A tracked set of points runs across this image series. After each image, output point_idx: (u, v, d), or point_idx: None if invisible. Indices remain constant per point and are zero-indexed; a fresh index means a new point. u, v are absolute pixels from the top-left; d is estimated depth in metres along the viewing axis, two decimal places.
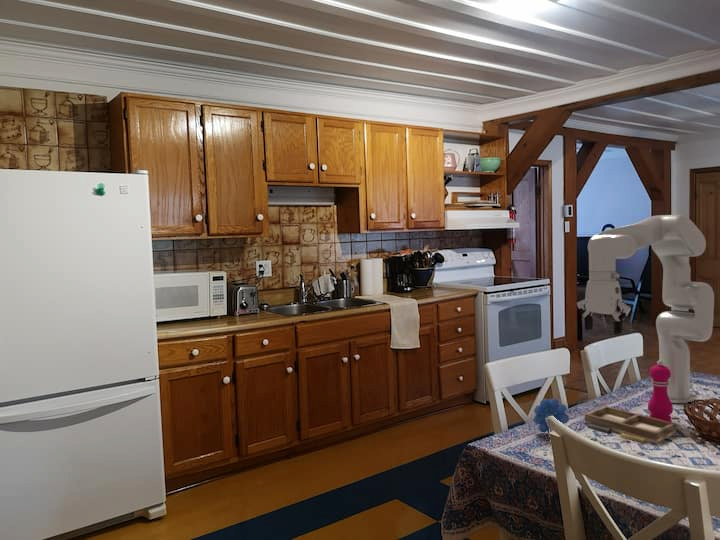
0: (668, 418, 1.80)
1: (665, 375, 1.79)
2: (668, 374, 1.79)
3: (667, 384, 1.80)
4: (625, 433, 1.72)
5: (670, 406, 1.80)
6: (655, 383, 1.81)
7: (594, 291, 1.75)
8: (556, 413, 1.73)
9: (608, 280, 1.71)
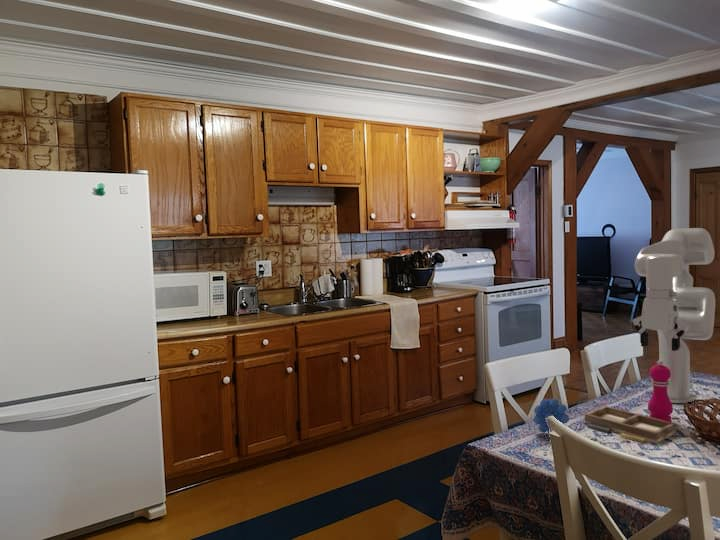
0: (668, 418, 1.80)
1: (665, 375, 1.79)
2: (668, 374, 1.79)
3: (667, 384, 1.80)
4: (625, 433, 1.72)
5: (670, 406, 1.80)
6: (655, 383, 1.81)
7: (651, 308, 1.79)
8: (556, 413, 1.73)
9: (666, 298, 1.76)
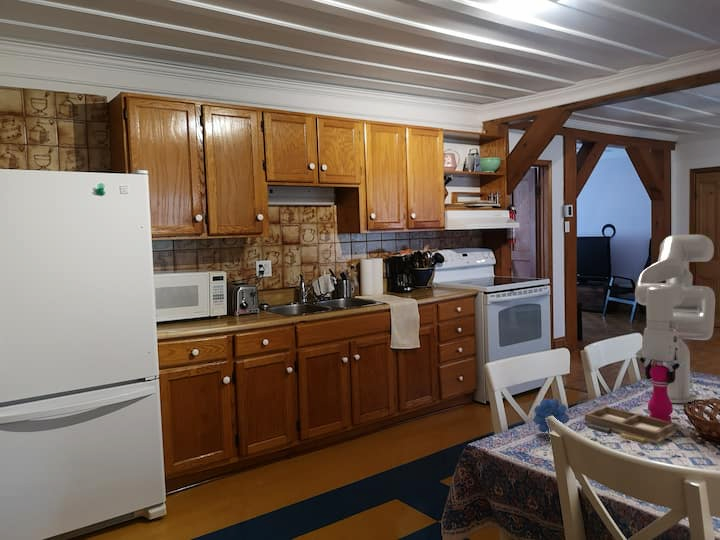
0: (668, 418, 1.80)
1: (665, 375, 1.79)
2: None
3: (667, 384, 1.80)
4: (625, 433, 1.72)
5: (670, 406, 1.80)
6: (655, 383, 1.81)
7: (651, 339, 1.80)
8: (556, 413, 1.73)
9: (666, 329, 1.77)
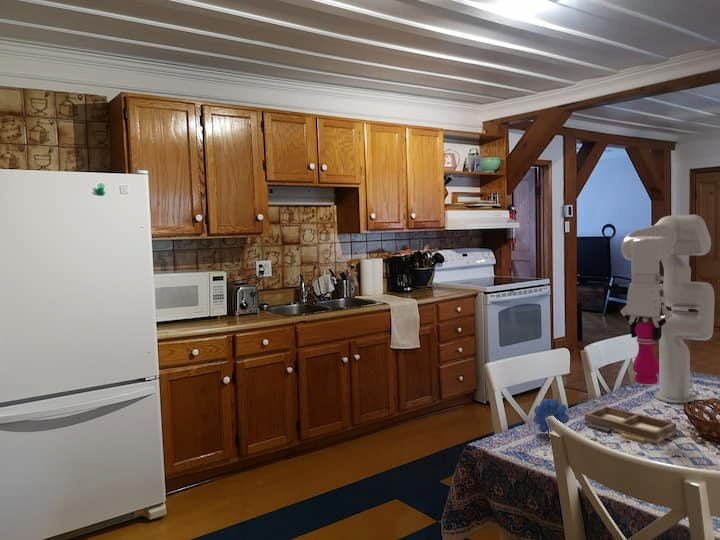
0: (654, 377, 1.70)
1: (651, 331, 1.69)
2: None
3: (653, 341, 1.70)
4: (625, 433, 1.72)
5: (656, 365, 1.70)
6: (640, 340, 1.71)
7: (636, 294, 1.70)
8: (556, 413, 1.73)
9: (652, 283, 1.67)
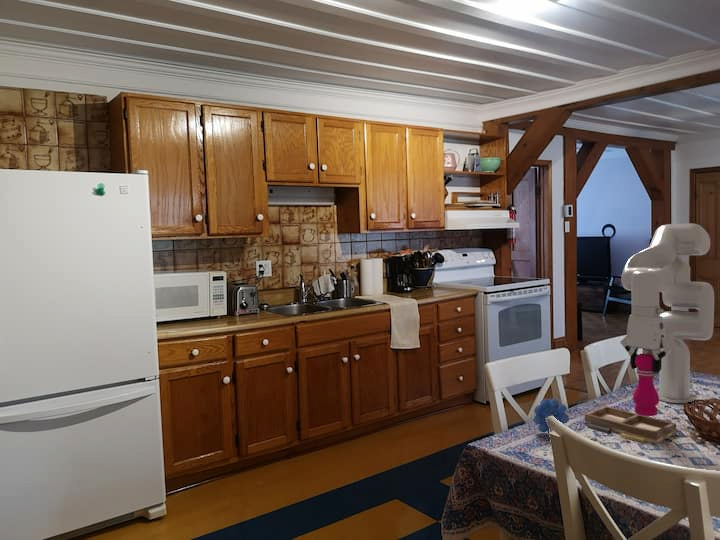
0: (654, 409, 1.71)
1: (651, 364, 1.69)
2: None
3: (653, 373, 1.71)
4: (625, 433, 1.72)
5: (656, 396, 1.70)
6: (640, 372, 1.71)
7: (636, 326, 1.71)
8: (556, 413, 1.73)
9: (652, 315, 1.67)
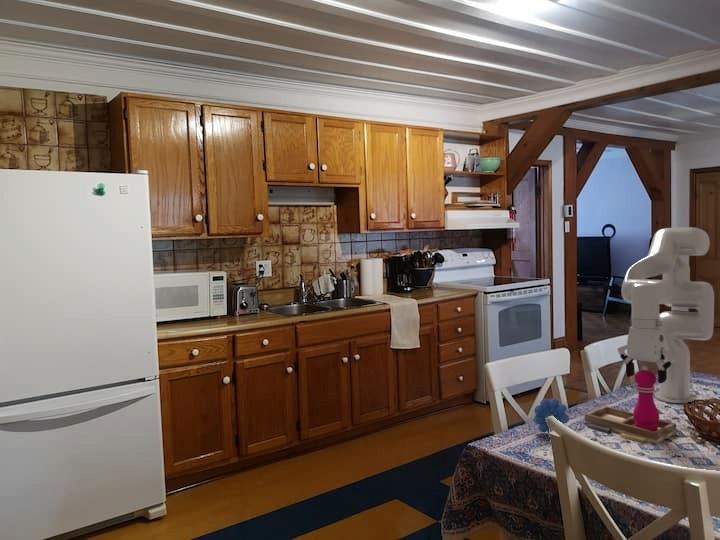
0: (654, 426, 1.72)
1: (650, 380, 1.70)
2: (653, 379, 1.70)
3: (653, 390, 1.71)
4: (625, 433, 1.72)
5: (656, 413, 1.71)
6: (640, 389, 1.72)
7: (636, 338, 1.71)
8: (556, 413, 1.73)
9: (652, 328, 1.68)
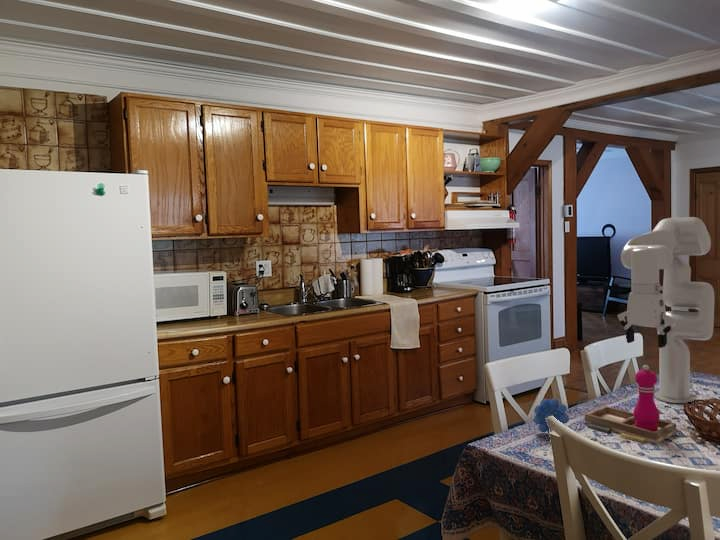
0: (654, 426, 1.72)
1: (651, 380, 1.70)
2: (654, 379, 1.71)
3: (653, 390, 1.71)
4: (625, 433, 1.72)
5: (656, 413, 1.71)
6: (641, 389, 1.72)
7: (636, 303, 1.71)
8: (556, 413, 1.73)
9: (652, 293, 1.67)
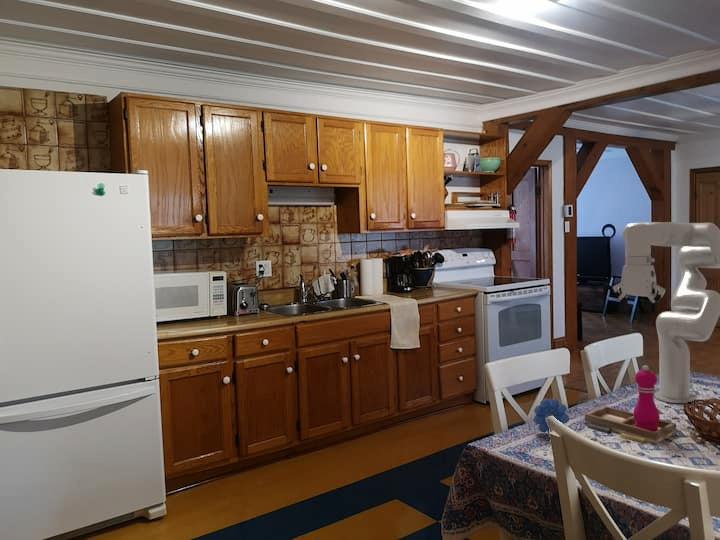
0: (654, 426, 1.72)
1: (651, 381, 1.70)
2: (654, 380, 1.70)
3: (653, 390, 1.71)
4: (625, 433, 1.72)
5: (656, 413, 1.71)
6: (641, 389, 1.72)
7: (630, 275, 1.87)
8: (556, 413, 1.73)
9: (644, 264, 1.83)
